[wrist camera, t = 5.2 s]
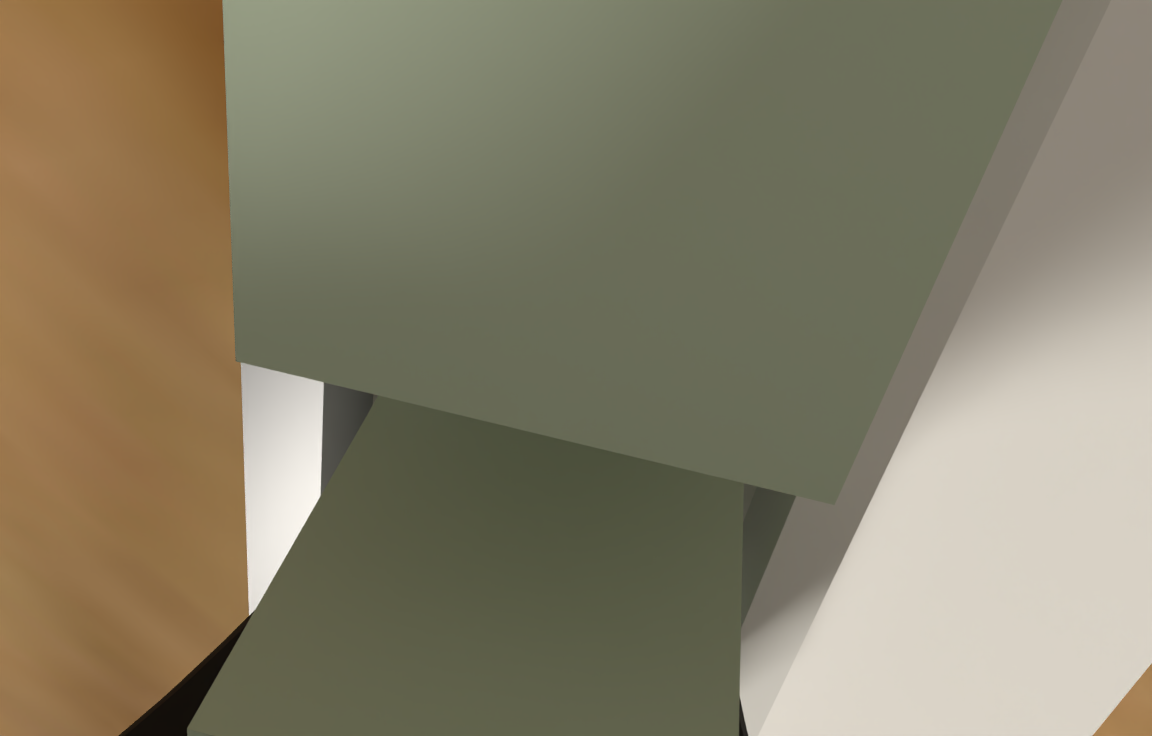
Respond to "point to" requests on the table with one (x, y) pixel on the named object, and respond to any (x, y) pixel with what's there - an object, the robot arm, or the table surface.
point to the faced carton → (614, 208)
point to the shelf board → (992, 450)
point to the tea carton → (494, 594)
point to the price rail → (289, 459)
